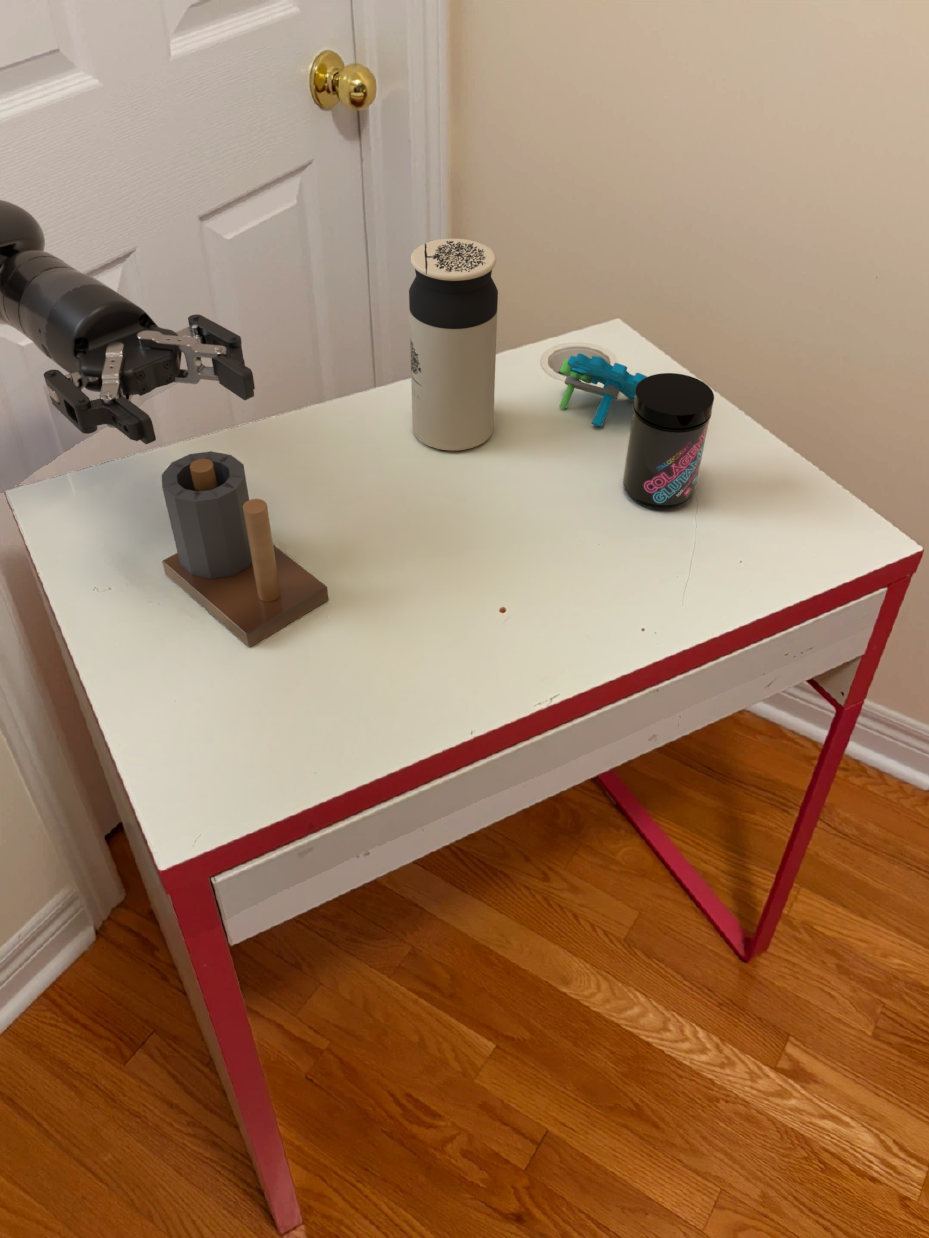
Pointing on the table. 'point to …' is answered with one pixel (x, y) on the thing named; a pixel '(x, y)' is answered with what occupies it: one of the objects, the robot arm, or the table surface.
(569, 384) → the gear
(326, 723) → the table surface
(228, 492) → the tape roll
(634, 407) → the supplement container
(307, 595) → the rack
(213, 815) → the table surface
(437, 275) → the travel mug
